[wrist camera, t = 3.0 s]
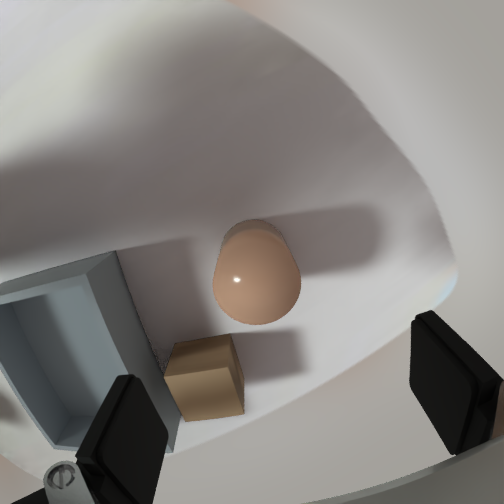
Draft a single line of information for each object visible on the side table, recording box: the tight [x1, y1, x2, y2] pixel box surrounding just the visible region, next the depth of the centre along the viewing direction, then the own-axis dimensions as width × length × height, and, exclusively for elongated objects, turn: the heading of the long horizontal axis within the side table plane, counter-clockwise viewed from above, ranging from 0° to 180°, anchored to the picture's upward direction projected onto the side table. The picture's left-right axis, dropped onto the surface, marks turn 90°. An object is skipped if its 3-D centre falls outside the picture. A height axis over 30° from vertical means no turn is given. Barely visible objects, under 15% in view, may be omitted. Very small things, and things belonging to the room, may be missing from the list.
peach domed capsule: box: [213, 220, 301, 325], centre depth 22 cm, size 5×5×7 cm
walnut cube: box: [164, 333, 244, 422], centre depth 25 cm, size 5×5×5 cm
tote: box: [0, 251, 181, 453], centre depth 25 cm, size 17×14×6 cm
